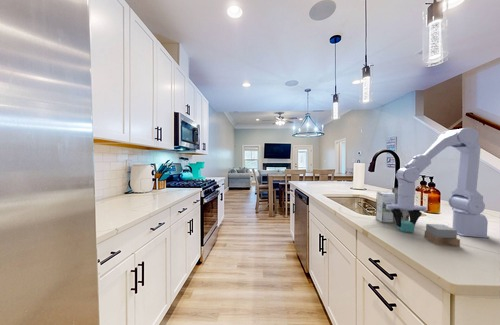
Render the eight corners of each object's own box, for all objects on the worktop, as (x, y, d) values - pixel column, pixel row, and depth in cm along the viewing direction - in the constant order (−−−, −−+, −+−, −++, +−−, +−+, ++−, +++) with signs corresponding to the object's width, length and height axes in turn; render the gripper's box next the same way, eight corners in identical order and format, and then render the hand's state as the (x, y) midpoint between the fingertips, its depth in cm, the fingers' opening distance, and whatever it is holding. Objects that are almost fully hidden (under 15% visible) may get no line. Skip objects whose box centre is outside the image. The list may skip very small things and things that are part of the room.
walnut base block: (444, 240, 78) (445, 232, 78) (459, 247, 72) (460, 239, 72) (424, 238, 80) (424, 230, 80) (436, 245, 73) (437, 237, 73)
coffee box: (409, 224, 94) (410, 190, 94) (392, 222, 98) (393, 189, 97) (406, 219, 102) (407, 188, 102) (390, 217, 106) (391, 187, 105)
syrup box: (387, 219, 102) (388, 191, 102) (394, 223, 96) (395, 193, 96) (375, 219, 103) (376, 191, 102) (381, 222, 97) (382, 193, 96)
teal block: (407, 228, 89) (408, 220, 89) (414, 232, 85) (414, 224, 84) (396, 227, 90) (396, 219, 90) (402, 231, 85) (402, 223, 85)
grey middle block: (443, 232, 78) (443, 224, 78) (456, 238, 72) (456, 230, 72) (426, 231, 79) (426, 223, 79) (437, 237, 73) (438, 229, 73)
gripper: (391, 196, 84) (390, 228, 85) (431, 198, 81) (430, 231, 82) (384, 193, 91) (383, 223, 92) (421, 195, 88) (420, 225, 89)
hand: (405, 226), depth 87 cm, fingers closed on teal block, 4 cm apart
